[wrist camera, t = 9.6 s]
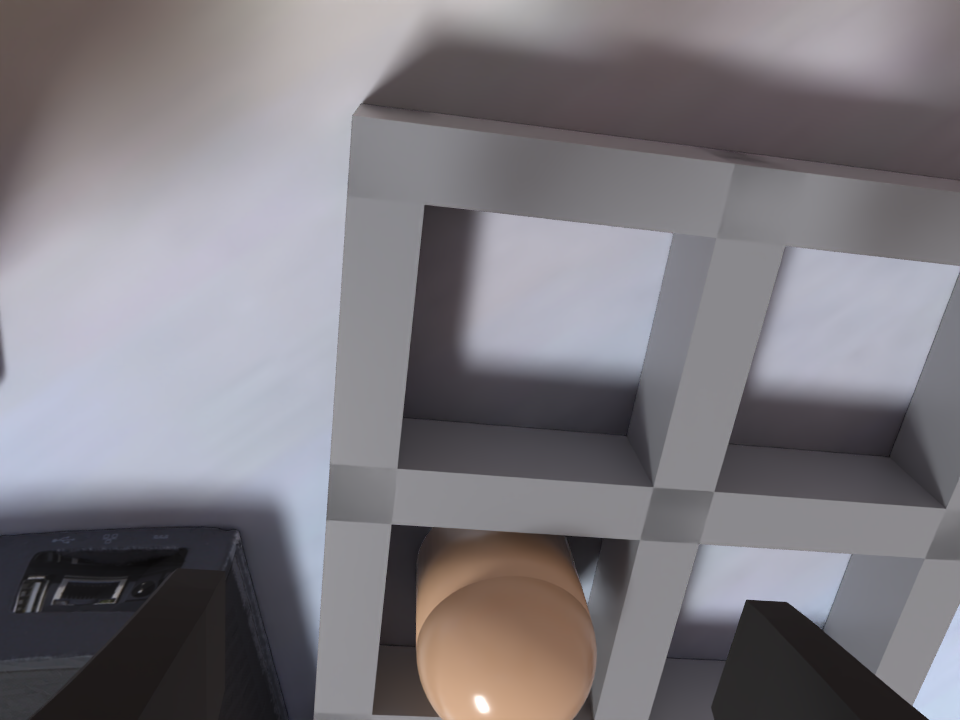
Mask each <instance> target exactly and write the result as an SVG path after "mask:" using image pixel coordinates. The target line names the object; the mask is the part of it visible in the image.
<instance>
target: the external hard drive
mask: <svg viewBox="0 0 960 720" xmlns="http://www.w3.org/2000/svg"><path fill="white" fill-rule="evenodd" d="M177 568H182V569H200V570H218V571H226V584H225V691H224V696H223V700H222V705H221V709H220V714H219V718H218V720H288V715H287V711H286V708H285V704H284V700H283V697H282V693H281V690H280V686H279V682H278V678H277V675H276V671H275V666H274V664H273V659H272V656H271V652H270V649H269V645H268V641H267V637H266V633H265V630H264V626H263V622H262V619H261V615H260V611H259V608H258V604H257V600H256V597H255V593H254V590H253V585H252V581H251V578H250V574H249V570H248V567H247V562H246V559H245V556H244V552H243V548H242V543H241V538H240V536H239V532H238V531H237V530H229V531H224V530H221V529H217V528H207V527H198V528H142V529H115V530H96V531H68V532H55V533H41V534H25V535H14V536H0V720H27V719H28V718H29V717H30V716H32V715H33V714H34V713H35V712H36V711H37V710H38V709H39V708H40V707H41V706H43V705H44V704H45V703H46V702H47V701H48V700H49V699H50V698H51V697H52V696H53V695H54V694H55V693H56V692H58V691H59V690H60V689H61V688H62V687H63V686H64V685H65V684H66V683H67V682H68V681H69V680H70V679H71V678H72V677H73V676H74V675H75V674H76V673H77V672H78V671H79V670H80V669H81V668H82V667H83V666H84V665H85V664H86V663H87V662H88V661H89V660H90V659H91V658H92V657H93V656H94V655H95V654H96V653H97V652H98V651H99V650H100V649H101V648H102V647H103V646H104V645H105V644H106V643H107V642H108V641H109V640H110V639H111V637H112V636H113V635H114V634H115V633H116V632H117V631H118V630H119V629H120V628H121V627H122V626H123V625H124V624H125V623H126V622H127V621H128V620H129V618H130V617H131V616H132V615H133V614H134V613H135V612H136V611H137V610H138V609H139V608H140V607H141V605H142V604H143V603H144V602H145V601H146V600H147V599H148V598H149V597H150V595H151V594H152V593H153V592H154V591H155V590H156V589H157V588H158V587H159V585H160V584H161V583H162V582H163V581H164V580H165V579H166V578H167V576H168V575H169V574H171V573H172V572H173V571H175V570H176V569H177Z"/></svg>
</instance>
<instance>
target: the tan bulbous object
mask: <svg viewBox="0 0 960 720" xmlns="http://www.w3.org/2000/svg"><path fill="white" fill-rule="evenodd" d="M416 659H417V668H418V674H419V677H420V681H421V684H422V688H423V690H424V692H425V694H426V696H427V698H428V700H429V702H430V704H431V706H432V707H433V709H434V710H435V711H436V713H437V714H438V715H439V717H440V718H441V719H442V720H573V719H574V717H575V716H576V715H577V714H578V712H579V711H580V709H581V708H582V706H583V704H584V703H585V701H586V699H587V697H588V695H589V692H590V689H591V687H592V684H593V681H594V676H595V670H596V664H597V643H596V637H595V632H594V627H593V623H592V620H591V617H590V613H589V610H588V606H587V603H586V600H585V596H584V593H583V589H582V586H581V583H580V579H579V576H578V572H577V569H576V566H575V562H574V559H573V556H572V552H571V549H570V545H569V543H568V540H567V537H566V536H565V535H551V534H535V533H520V532H504V531H489V530H473V529H457V528H442V527H433V528H432V529H431V530H430V531H429V533H428V534H427V535H426V537H425V539H424V541H423V542H422V544H421V547H420V549H419V552H418V556H417V562H416Z"/></svg>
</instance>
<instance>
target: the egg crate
mask: <svg viewBox="0 0 960 720" xmlns="http://www.w3.org/2000/svg"><path fill="white" fill-rule="evenodd" d="M424 205H432V206H441V207H449V208H458V209H467V210H476V211H484V212H493V213H502V214H511V215H519V216H528V217H537V218H546V219H554V220H563V221H572V222H580V223H589V224H598V225H607V226H615V227H624V228H633V229H642V230H650V231H659V232H668V233H674V234H673V238H672V242H671V247H670V251H669V255H668V260H667V264H666V268H665V273H664V277H663V281H662V286H661V290H660V294H659V299H658V303H657V307H656V312H655V316H654V320H653V325H652V329H651V333H650V338H649V342H648V346H647V351H646V355H645V359H644V364H643V368H642V372H641V377H640V381H639V385H638V390H637V394H636V398H635V403H634V407H633V411H632V416H631V420H630V424H629V429H628V433H627V436H622V435H609V434H597V433H585V432H572V431H560V430H548V429H535V428H523V427H511V426H498V425H486V424H473V423H461V422H449V421H436V420H424V419H412V418H403V409H404V399H405V390H406V380H407V370H408V360H409V351H410V341H411V331H412V322H413V312H414V302H415V293H416V283H417V273H418V263H419V254H420V244H421V234H422V225H423V215H424ZM785 246H790V247H799V248H808V249H816V250H825V251H834V252H843V253H851V254H860V255H869V256H878V257H886V258H895V259H904V260H913V261H921V262H930V263H939V264H948V265H956V266H960V181H959V180H952V179H944V178H936V177H928V176H921V175H913V174H905V173H897V172H889V171H882V170H874V169H866V168H858V167H851V166H843V165H835V164H827V163H820V162H812V161H804V160H796V159H789V158H781V157H773V156H765V155H758V154H750V153H742V152H734V151H727V150H719V149H711V148H703V147H696V146H688V145H680V144H672V143H665V142H657V141H649V140H641V139H634V138H626V137H618V136H610V135H603V134H595V133H587V132H579V131H572V130H564V129H556V128H548V127H540V126H533V125H525V124H517V123H509V122H502V121H494V120H486V119H478V118H471V117H463V116H455V115H447V114H440V113H432V112H424V111H416V110H409V109H401V108H393V107H385V106H378V105H370V104H362V103H361V104H360V106H359V107H358V108H357V110H356V111H355V112H354V114H353V115H352V128H351V144H350V159H349V175H348V190H347V206H346V222H345V237H344V253H343V268H342V284H341V299H340V315H339V331H338V346H337V362H336V377H335V393H334V408H333V424H332V440H331V455H330V471H329V486H328V502H327V518H326V533H325V549H324V564H323V580H322V595H321V611H320V627H319V642H318V658H317V673H316V689H315V705H314V720H442V719H441V718H440V717H439V715H438V714H437V713H436V711H435V710H434V709H433V707H432V706H431V704H430V702H429V700H428V698H427V696H426V694H425V692H424V690H423V688H422V684H421V681H420V677H419V674H418V668H417V659H416V647H407V646H385V645H379V642H380V632H381V622H382V613H383V603H384V593H385V583H386V574H387V564H388V554H389V545H390V535H391V525H392V524H395V525H411V526H426V527H442V528H457V529H473V530H489V531H504V532H520V533H535V534H551V535H566V536H582V537H598V538H603V541H602V546H601V550H600V554H599V559H598V563H597V567H596V572H595V576H594V580H593V585H592V589H591V593H590V598H589V602H588V610H589V613H590V617H591V620H592V623H593V627H594V632H595V637H596V643H597V664H596V670H595V676H594V681H593V684H592V687H591V689H590V692H589V695H588V697H587V699H586V701H585V703H584V704H583V706H582V708H581V709H580V711H579V712H578V714H577V715H576V716H575V717H574V719H573V720H714V717H713V713H712V709H711V706H712V703H713V699H714V696H715V693H716V690H717V687H718V684H719V681H720V678H721V675H722V672H723V669H724V666H725V663H726V661H715V660H693V659H671V658H666V657H667V654H668V650H669V647H670V643H671V640H672V636H673V633H674V630H675V626H676V623H677V619H678V616H679V612H680V609H681V605H682V602H683V598H684V595H685V592H686V588H687V585H688V581H689V578H690V574H691V571H692V567H693V564H694V560H695V557H696V554H697V550H698V547H699V544H706V545H722V546H738V547H753V548H769V549H784V550H800V551H815V552H831V553H847V554H852V556H851V558H850V561H849V564H848V566H847V569H846V572H845V574H844V577H843V579H842V582H841V585H840V587H839V590H838V592H837V595H836V598H835V600H834V603H833V605H832V608H831V611H830V613H829V616H828V618H827V621H826V624H825V626H824V629H823V631H824V632H825V633H826V634H827V635H829V636H830V637H831V638H832V639H833V640H835V641H836V642H837V643H838V644H839V645H841V646H842V647H843V648H844V649H845V650H846V651H848V652H849V653H850V654H851V655H852V656H853V657H855V658H856V659H857V660H858V661H859V662H861V663H862V664H863V665H864V666H865V667H866V668H868V669H869V670H870V671H871V672H872V673H873V674H875V675H876V676H877V677H878V678H879V679H881V680H882V681H883V682H884V683H885V684H886V685H888V686H889V687H890V688H891V689H892V690H894V691H895V692H896V693H897V694H898V695H900V696H901V697H902V698H903V699H904V700H906V701H907V702H908V703H909V704H910V705H912V706H913V703H914V701H915V699H916V697H917V695H918V693H919V690H920V688H921V686H922V684H923V682H924V680H925V677H926V675H927V673H928V671H929V669H930V667H931V664H932V662H933V660H934V658H935V656H936V654H937V651H938V649H939V647H940V645H941V643H942V641H943V638H944V636H945V634H946V632H947V630H948V628H949V625H950V623H951V621H952V619H953V617H954V615H955V612H956V610H957V608H958V606H959V604H960V274H959V277H958V279H957V282H956V285H955V287H954V290H953V292H952V295H951V298H950V300H949V303H948V306H947V308H946V311H945V313H944V316H943V319H942V321H941V324H940V326H939V329H938V332H937V334H936V337H935V339H934V342H933V345H932V347H931V350H930V352H929V355H928V358H927V360H926V363H925V366H924V368H923V371H922V373H921V376H920V379H919V381H918V384H917V386H916V389H915V392H914V394H913V397H912V399H911V402H910V405H909V407H908V410H907V412H906V415H905V418H904V420H903V423H902V425H901V428H900V431H899V433H898V436H897V439H896V441H895V444H894V446H893V449H892V452H891V454H890V457H881V456H869V455H857V454H844V453H832V452H820V451H807V450H795V449H782V448H770V447H758V446H745V445H733V444H728V443H729V439H730V436H731V433H732V429H733V426H734V422H735V419H736V415H737V412H738V408H739V405H740V401H741V398H742V394H743V391H744V388H745V384H746V381H747V377H748V374H749V370H750V367H751V363H752V360H753V356H754V353H755V350H756V346H757V343H758V339H759V336H760V332H761V329H762V325H763V322H764V318H765V315H766V311H767V308H768V305H769V301H770V298H771V294H772V291H773V287H774V284H775V280H776V277H777V273H778V270H779V267H780V263H781V260H782V256H783V253H784V249H785Z"/></svg>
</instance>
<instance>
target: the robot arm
mask: <svg viewBox="0 0 960 720" xmlns="http://www.w3.org/2000/svg"><path fill="white" fill-rule="evenodd" d="M225 584H226V571H218V570H200V569H182V568H177V569H176V570H175V571H173V572H172V573H171V574H169V575H168V576H167V578H166V579H165V580H164V581H163V582H162V583H161V584H160V585H159V587H158V588H157V589H156V590H155V591H154V592H153V593H152V594H151V595H150V597H149V598H148V599H147V600H146V601H145V602H144V603H143V604H142V605H141V607H140V608H139V609H138V610H137V611H136V612H135V613H134V614H133V615H132V616H131V617H130V618H129V620H128V621H127V622H126V623H125V624H124V625H123V626H122V627H121V628H120V629H119V630H118V631H117V632H116V633H115V634H114V635H113V636H112V637H111V639H110V640H109V641H108V642H107V643H106V644H105V645H104V646H103V647H102V648H101V649H100V650H99V651H98V652H97V653H96V654H95V655H94V656H93V657H92V658H91V659H90V660H89V661H88V662H87V663H86V664H85V665H84V666H83V667H82V668H81V669H80V670H79V671H78V672H77V673H76V674H75V675H74V676H73V677H72V678H71V679H70V680H69V681H68V682H67V683H66V684H65V685H64V686H63V687H62V688H61V689H60V690H59V691H58V692H56V693H55V694H54V695H53V696H52V697H51V698H50V699H49V700H48V701H47V702H46V703H45V704H44V705H43V706H41V707H40V708H39V709H38V710H37V711H36V712H35V713H34V714H33V715H32V716H30V717H29V718H28V719H27V720H218V718H219V714H220V709H221V705H222V700H223V696H224V691H225ZM711 709H712V713H713V717H714V720H929V719H927V718H926V717H925V716H924V715H922V714H921V713H920V712H919V711H918V710H916V709H915V708H914V707H913V706H912V705H910V704H909V703H908V702H907V701H906V700H904V699H903V698H902V697H901V696H900V695H898V694H897V693H896V692H895V691H894V690H892V689H891V688H890V687H889V686H888V685H886V684H885V683H884V682H883V681H882V680H881V679H879V678H878V677H877V676H876V675H875V674H873V673H872V672H871V671H870V670H869V669H868V668H866V667H865V666H864V665H863V664H862V663H861V662H859V661H858V660H857V659H856V658H855V657H853V656H852V655H851V654H850V653H849V652H848V651H846V650H845V649H844V648H843V647H842V646H841V645H839V644H838V643H837V642H836V641H835V640H833V639H832V638H831V637H830V636H829V635H827V634H826V633H825V632H824V631H823V630H821V629H820V628H819V627H818V626H817V625H815V624H814V623H813V622H812V621H811V620H809V619H808V618H807V617H806V616H804V615H803V614H802V613H801V612H799V611H798V610H797V609H795V608H794V607H793V606H791V605H790V604H789V603H787V602H776V601H758V600H746V602H745V605H744V608H743V611H742V614H741V617H740V620H739V623H738V626H737V629H736V633H735V636H734V639H733V642H732V645H731V648H730V651H729V654H728V657H727V660H726V663H725V666H724V669H723V672H722V675H721V678H720V681H719V684H718V687H717V690H716V693H715V696H714V699H713V703H712V706H711Z"/></svg>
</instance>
